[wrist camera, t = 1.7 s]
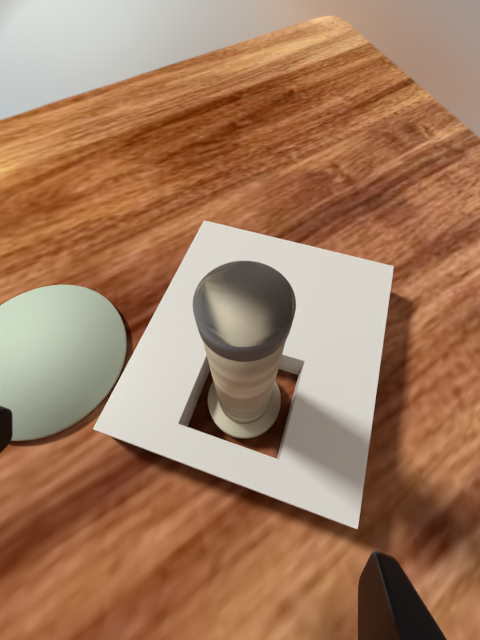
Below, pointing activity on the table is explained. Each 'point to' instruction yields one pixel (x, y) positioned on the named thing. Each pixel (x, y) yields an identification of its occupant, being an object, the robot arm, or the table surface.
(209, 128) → the table surface
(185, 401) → the socket plate
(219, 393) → the key peg
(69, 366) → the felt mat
